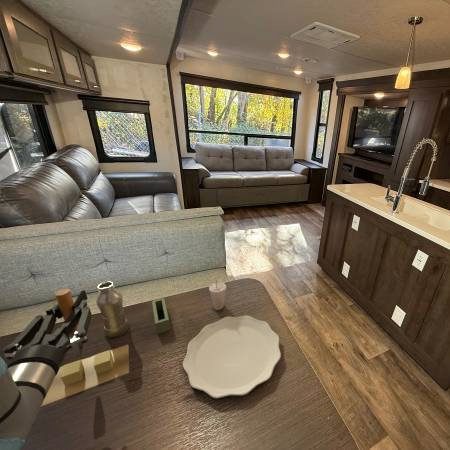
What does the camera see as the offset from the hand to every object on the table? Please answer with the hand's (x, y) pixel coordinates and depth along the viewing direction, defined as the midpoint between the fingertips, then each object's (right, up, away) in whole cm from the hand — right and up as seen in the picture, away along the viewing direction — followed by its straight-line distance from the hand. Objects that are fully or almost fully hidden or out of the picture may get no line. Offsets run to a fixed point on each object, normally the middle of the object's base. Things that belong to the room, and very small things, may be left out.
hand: (76, 296), depth 65 cm
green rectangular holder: (+9, -17, +24) cm, 30 cm away
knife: (+1, -13, 0) cm, 13 cm away
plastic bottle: (-2, -18, +18) cm, 26 cm away
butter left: (-3, -23, +2) cm, 23 cm away
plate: (+38, -23, +15) cm, 47 cm away
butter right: (+3, -22, +6) cm, 23 cm away
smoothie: (+27, -14, +34) cm, 45 cm away
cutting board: (0, -24, +5) cm, 24 cm away
